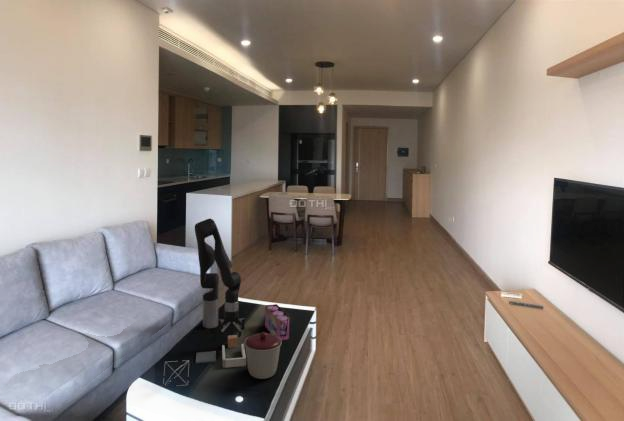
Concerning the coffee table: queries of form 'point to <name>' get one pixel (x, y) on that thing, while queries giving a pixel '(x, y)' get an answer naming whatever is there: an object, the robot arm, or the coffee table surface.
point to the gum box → (277, 321)
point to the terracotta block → (232, 341)
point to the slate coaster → (206, 357)
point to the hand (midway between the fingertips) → (231, 337)
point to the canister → (262, 354)
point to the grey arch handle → (234, 359)
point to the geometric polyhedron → (175, 372)
